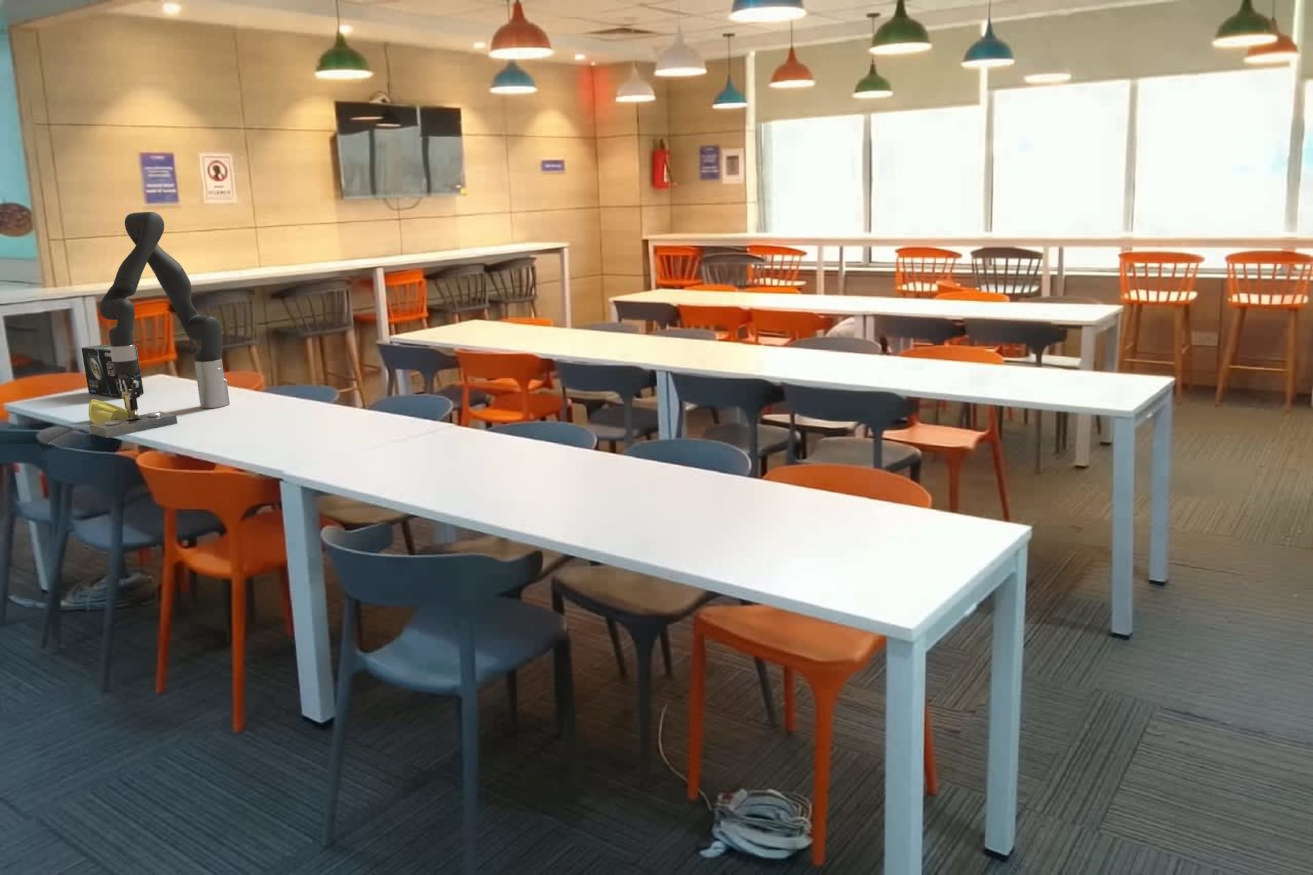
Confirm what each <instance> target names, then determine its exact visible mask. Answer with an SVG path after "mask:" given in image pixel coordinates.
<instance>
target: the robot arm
mask: <svg viewBox="0 0 1313 875" xmlns="http://www.w3.org/2000/svg"><path fill="white" fill-rule="evenodd" d="M124 229H125V230H126V233H127V234H128V236H129V238H130V239H131V240H132V242H133V244H134V245H135V246H134V248H133V249H132V251H130V253H129V254H128V255H127V256H126V258H124V260H123V261H122V262H121V263H120V266H119V267H118V268H117V269H118V270H117V272H116V275H115V278H114V281H113V284H112V285H111V287H109V289H108V290H107V292H106V293H105V294H104V296H103V298H102V299H101V301H100V305H99V313H100V315H101V317H103V318H104V319H105V320H109V321H117V322H116V327H112V328H109V330H108V337H109V345H111V358H112V365H113V372H114V374H119V376H118V379H115V383H116V386H117V389H118V392H119V395H120V396H122V398H121V399H123V402H124V403H123V404H124V409H126V410H127V408H126V402H125V395H124V394H123V391H126V393H128V397H129V403H130V409H131V410H132V411H134V410H137V411H138V410H139V406H138V398H141V394H140V391H141V382H140V381H139V382H137V381H136V377H135V373H136V372H138V371H139V369H138V362H137V355H136V350H135V347H136V346H135V340H134V336H133V329H134V325H135V324H134V323H135V322H134V321H135V316H136V310H135V306H134V304H133V303H132V301H131V300H130V299H129V298H128V297H132V296H134V295H135V293H136V292H137V289H138V287H139V284H140V280H141V276H142V275H143V272H144V270H145V267H146V265H147V264H148V265H149V266H150V269H151V271H152V272H153V274H154V275H155V277H156V279H157V281H158V283H159V284H160V287H161V288H162V289H163V291H164V293H165V295H166V296H167V297H168V300H169V301H170V303H171V305H172V307H173V309H174V310H175V312H176V314H177V317H178V319H179V321H180V323H181V325H182V328H183V331H184V332H185V334H186V336H187V337H188V338H189V339H190V340H192V341H194V342H201V343H200V344H201V348H200V349H199V350H198V351H195V352H194V354H193V360H194V368H195V374H196V376H195V377H196V382H197V391H198V397H199V398H198V399H199V405H200V408H201V409H214V408H215V409H217V408H222V407H225V406H228V405H230V404H231V402H230V396H229V388H228V380H227V378H225V376H224V368H223V360H222V353H223V349H224V347H223V336H222V335H223V334H222V327H221V324H220V322H219V320H218V319H217V317H214V316H209V315H200V314H199V313H198V311H197V310H196V308H195V306H194V305H193V300H192V283H191V281H190V279H189V276H188V274H187V273H186V271H185V270H184V268H183V267H182V265H181V264H180V262H178V261H177V259H174V257H172V256H171V255H170V254H169V253H168V252H166V251H165V250H164V249H163V248H162V247H161V246H160V244H158V243H159V242H160V240H161V238H162V236H163V235H164V231H165V221H164V219H163V217H162V216H161V215H160V214H159V213H157V212H154V211H141V212H132V213H128V214H127V215H126V216H125V219H124Z"/></svg>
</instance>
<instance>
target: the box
mask: <svg viewBox="0 0 1313 875" xmlns="http://www.w3.org/2000/svg"><path fill="white" fill-rule="evenodd" d="M80 349H81V354H82V361H83V367H84V372H85V373H84V374H85V379H86V384H87V390H88V394H89V395H93V394H94V396H101V397H102V396H103V397H108V398H109V397H110V398H117V399H123V398H122V396H120V395H119V392H118V389H117V386H116V383H115V379H118V376H119V374H114V372H113V365H112V358H111V345H110V344H98V345H97V344H96V345H91V346H85V347H81V348H80ZM135 350H136V355H137V362H138V369H139V371H138V372H136V373H135V377H136V381H137V382H139V381H140V382H141V391H140V395H143V394H144V393H145V391H144V385H143V379H142V373H141V367H140V366H141V365H140V361H139V353H138V347H136V346H135Z"/></svg>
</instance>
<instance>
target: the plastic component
mask: <svg viewBox="0 0 1313 875" xmlns="http://www.w3.org/2000/svg"><path fill="white" fill-rule="evenodd" d="M88 417H89V421H90V422H91V423H92V424H97V423H102V422H106V421H111V420H118V419H123V418H128V415H127V409H125V408H123V407H121V406H118V405H115V404H112V403H108V402H106V401H101V400H98V399H94V398H93V399H90V401H89V405H88Z"/></svg>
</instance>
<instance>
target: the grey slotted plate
mask: <svg viewBox="0 0 1313 875" xmlns="http://www.w3.org/2000/svg"><path fill="white" fill-rule="evenodd" d="M137 415H138V417H137V418H123V419H118V420H115V419H114V420H111V421H106V422H102V423H97V424H94V423H92V424H89V431H90V434H91V435H94V436H99V437H102V438H106V439H108V438H113V437H118V436H122V435H123V436H124V435H128V434H132V433H136V432H137V431H138V432H142V431H146V430H147V429H148V430H151V429H152V430H153V429H156V428H162V427H167V426H172V425H176V424H178V418H177V414H173V413H169V412H163V411H160V410H159V411H156V412H148V413H144V414H137ZM148 430H147V431H148Z"/></svg>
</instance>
